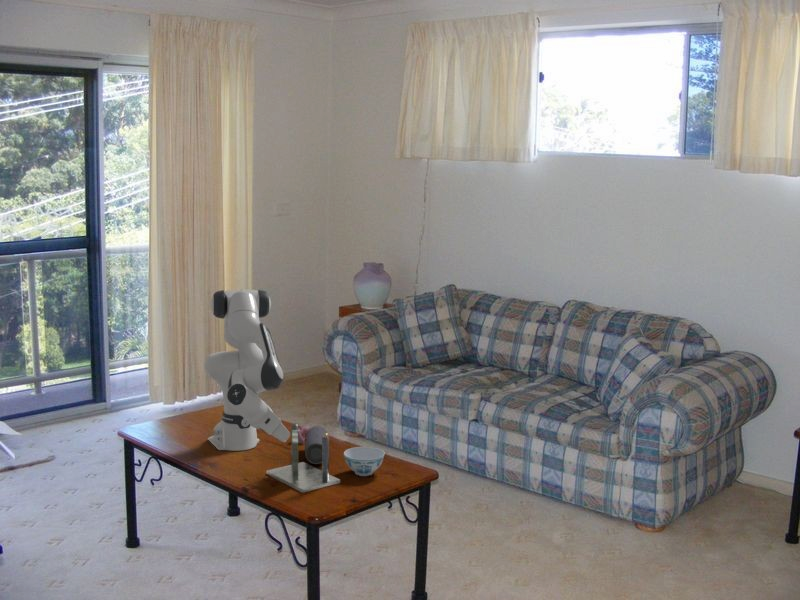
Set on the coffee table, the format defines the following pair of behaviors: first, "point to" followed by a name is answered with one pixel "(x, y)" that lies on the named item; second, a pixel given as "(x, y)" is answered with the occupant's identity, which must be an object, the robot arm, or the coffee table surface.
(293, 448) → the gate
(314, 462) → the bluetooth speaker
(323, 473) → the gate frame
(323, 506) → the coffee table surface
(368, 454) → the chinaware
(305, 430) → the video game controller
